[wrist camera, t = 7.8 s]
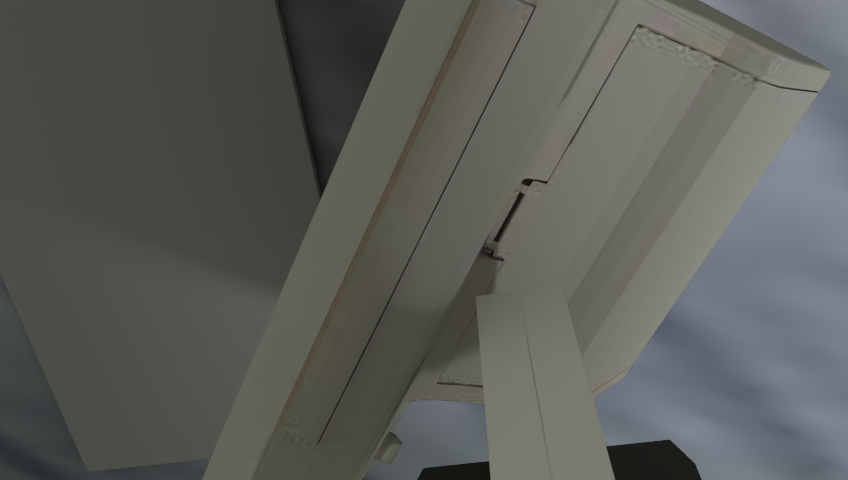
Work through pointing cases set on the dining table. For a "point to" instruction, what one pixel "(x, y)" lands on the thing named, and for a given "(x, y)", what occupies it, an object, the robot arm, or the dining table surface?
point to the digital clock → (507, 208)
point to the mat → (148, 209)
